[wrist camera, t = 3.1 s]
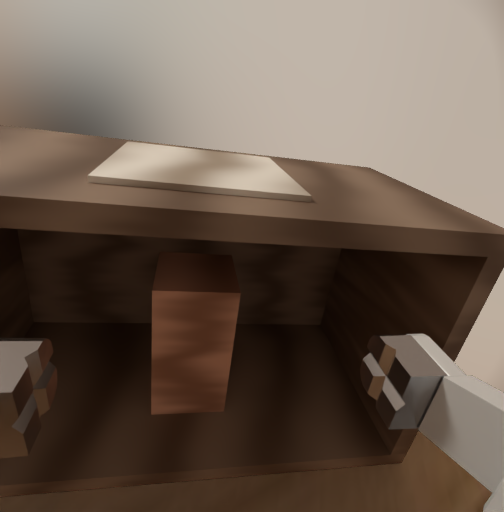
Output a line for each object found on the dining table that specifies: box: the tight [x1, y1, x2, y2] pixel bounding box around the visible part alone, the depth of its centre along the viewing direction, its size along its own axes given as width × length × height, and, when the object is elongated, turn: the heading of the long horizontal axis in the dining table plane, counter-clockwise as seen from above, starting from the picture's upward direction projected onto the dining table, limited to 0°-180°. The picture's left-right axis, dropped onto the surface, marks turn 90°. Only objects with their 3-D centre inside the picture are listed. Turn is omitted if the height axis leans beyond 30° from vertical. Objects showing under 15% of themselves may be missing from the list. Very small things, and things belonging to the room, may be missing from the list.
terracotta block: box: [151, 252, 241, 415], centre depth 23 cm, size 5×5×10 cm
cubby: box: [0, 125, 504, 497], centre depth 23 cm, size 29×15×18 cm, turn 99°
